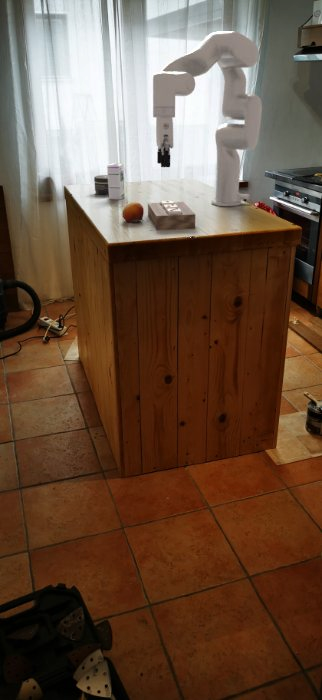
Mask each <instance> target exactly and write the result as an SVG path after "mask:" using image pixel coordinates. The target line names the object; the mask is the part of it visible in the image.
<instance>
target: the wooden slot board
mask: <svg viewBox="0 0 322 700" xmlns="http://www.w3.org/2000/svg"><path fill="white" fill-rule="evenodd" d="M173 202H174V204H176V205H177V206H178V208H179V209H180V210H181V214H171V215H168V214H167V210H164V206H161V202H148V203H147V217H148V218H149V219H148V220H150V221H151V224H152V225H153V227H154V229H155V230H156V231H163V230H164V231H165V230H166V231H167V230H187V229H188V230H189V229H190V230H192V229H196V213H195V211H193V210H192V209H191V207H189V206H188V205H187V204H186V203H185V202H184V201H173Z"/></svg>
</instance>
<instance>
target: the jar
mask: <svg viewBox="0 0 322 700" xmlns="http://www.w3.org/2000/svg"><path fill="white" fill-rule="evenodd" d="M93 180H94V181H93V182H94V191H95V194H96V195H99V196H109V189H108V174H100V175H95V176H94V178H93Z"/></svg>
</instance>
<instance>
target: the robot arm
mask: <svg viewBox="0 0 322 700" xmlns="http://www.w3.org/2000/svg"><path fill="white" fill-rule="evenodd" d="M259 56H260V52H259V48H258V45H257V44H256V43H255V41H253V40H251V39H250V38H249V37H247V36H246V35H244V34H242V33H240V32H238V31H232V30H231V31H229V30H228V31H227V30H226V31H216V32H212V33H210V34H209V35H207V36H206V37H205V38H204V40H202V41H201V42H200V43H199V44H198V45H197V46H196V47H195V48H194V49H193V50H191V52H187V53H186V54H183V55H182V56H180V57H178V58H176V59H174V60H172V61H170V62H169V63H167V64H166V65H165V66H164V67H163V68H162V69H161V70H160V71H159V72H155V73H154V74H153V77H152V92H153V93H152V117H153V118H156V121H155V122H156V123H155V127H156V128H155V129H156V131H155V133H156V134H155V135H156V137H155V139H156V141H155V142H156V146H157V164H160V167H161V168H170V167H171V149H173V148H174V122H173V121H174V119H173V118H176V97H187V96H190V95H191V94H192V93H193V92H194V90H195V87H196V79H195V77H199V76H203V75H205V74H206V73H208V72H209V71H210V69H212V68H213V67H214V65H215V64H216V63H217V65H218V66H219V68H220V70H221V71H222V75H223V80H224V85H223V86H224V87H223V94H222V95H223V96H222V98H223V99H222V105H221V106H222V108H221V114H222V116H223V118H224V119H226V120H232V121H244V124H243V123H230V122H229V123H228V122H227V123H223V124H220V125H219V126H218V127H217V129H216V130H215V137H214V138H215V145H216V176H215V177H216V179H215V198H213V199H212V200H211V205H214V206H217V207H237V206H240V205H242V200H244V199H245V200H249V199H250V194H248V193H247V194H245V193H240V191H239V190H240V189H239V187H240V170H241V169H240V168H241V158H240V155H239V152H238V150H239V151H252V150H254V149H255V148H256V146H257V144H258V142H259V138H260V137H259V136H260V129H261V121H262V114H263V113H262V112H263V105H262V100H261V98H260V97H259V96H258V95H257V94H254V93H246V92H247V78H246V74H245V72H244V70H243V69H242V68H245V69H246V68H252V67H254V66H255V65H256V64H257V62H258V60H259Z"/></svg>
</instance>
